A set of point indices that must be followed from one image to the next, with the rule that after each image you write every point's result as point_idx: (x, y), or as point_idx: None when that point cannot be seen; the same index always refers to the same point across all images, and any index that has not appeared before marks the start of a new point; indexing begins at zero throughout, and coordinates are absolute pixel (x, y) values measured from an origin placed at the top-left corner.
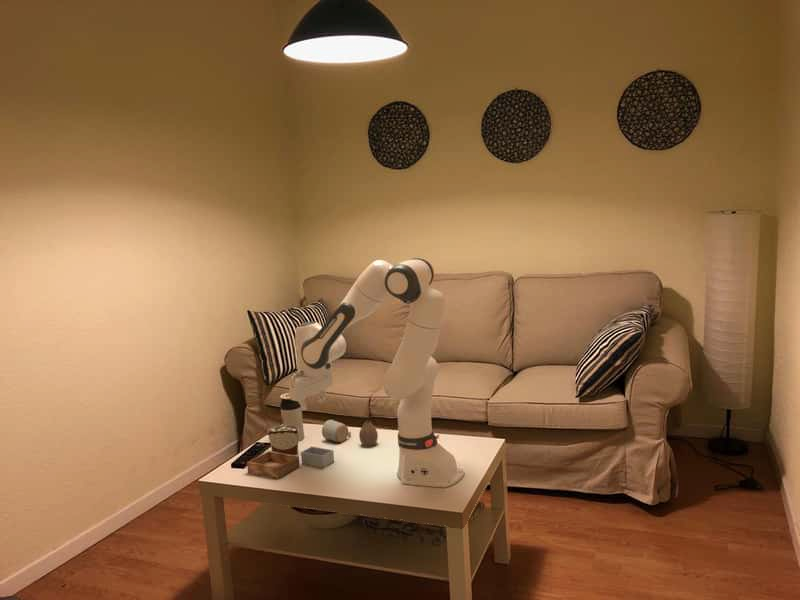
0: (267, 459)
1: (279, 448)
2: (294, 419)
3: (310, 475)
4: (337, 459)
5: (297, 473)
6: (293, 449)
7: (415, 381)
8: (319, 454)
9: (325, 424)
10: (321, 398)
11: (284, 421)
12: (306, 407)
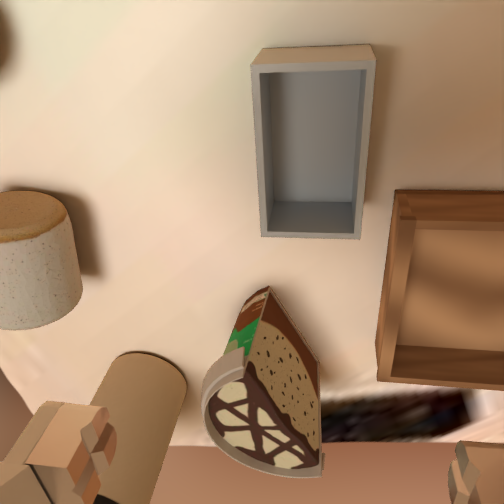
0: (399, 352)
1: (303, 365)
2: (128, 446)
3: (493, 52)
4: (220, 61)
5: (478, 148)
6: (273, 316)
7: None
8: (269, 164)
9: (37, 318)
10: (73, 464)
11: (160, 466)
12: (502, 476)
